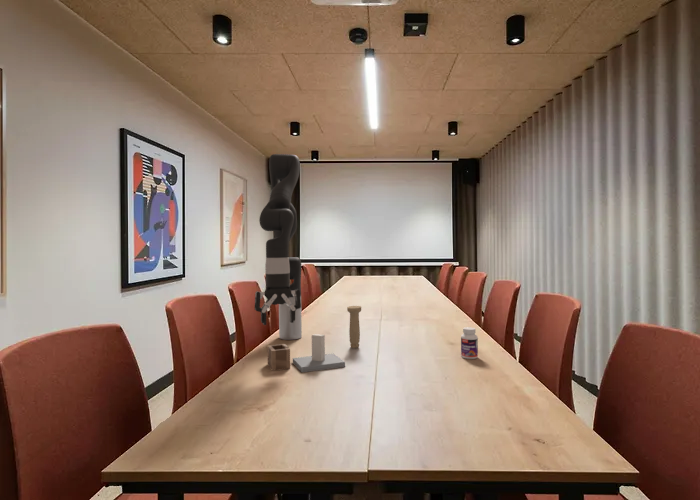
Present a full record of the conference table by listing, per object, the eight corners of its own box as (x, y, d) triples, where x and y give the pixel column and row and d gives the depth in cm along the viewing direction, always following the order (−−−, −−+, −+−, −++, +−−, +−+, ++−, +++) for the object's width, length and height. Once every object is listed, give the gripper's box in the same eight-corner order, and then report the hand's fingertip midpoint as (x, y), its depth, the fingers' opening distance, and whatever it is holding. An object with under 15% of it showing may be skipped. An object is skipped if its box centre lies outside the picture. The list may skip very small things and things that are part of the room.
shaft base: (292, 362, 133) (292, 333, 133) (333, 357, 138) (333, 329, 138) (301, 372, 122) (301, 340, 122) (345, 366, 128) (344, 336, 128)
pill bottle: (460, 358, 135) (459, 329, 135) (462, 354, 140) (461, 326, 140) (477, 360, 133) (476, 330, 133) (478, 355, 138) (478, 327, 138)
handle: (363, 345, 154) (363, 306, 153) (357, 350, 148) (357, 308, 148) (352, 344, 156) (351, 305, 155) (345, 348, 150) (344, 308, 149)
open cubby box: (267, 364, 131) (267, 344, 131) (284, 362, 133) (284, 342, 133) (272, 370, 124) (271, 350, 124) (290, 368, 127) (289, 348, 126)
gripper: (296, 270, 135) (297, 320, 135) (252, 272, 129) (253, 323, 129) (302, 271, 128) (303, 323, 128) (256, 273, 122) (257, 327, 123)
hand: (278, 323), depth 129 cm, fingers open, 8 cm apart
